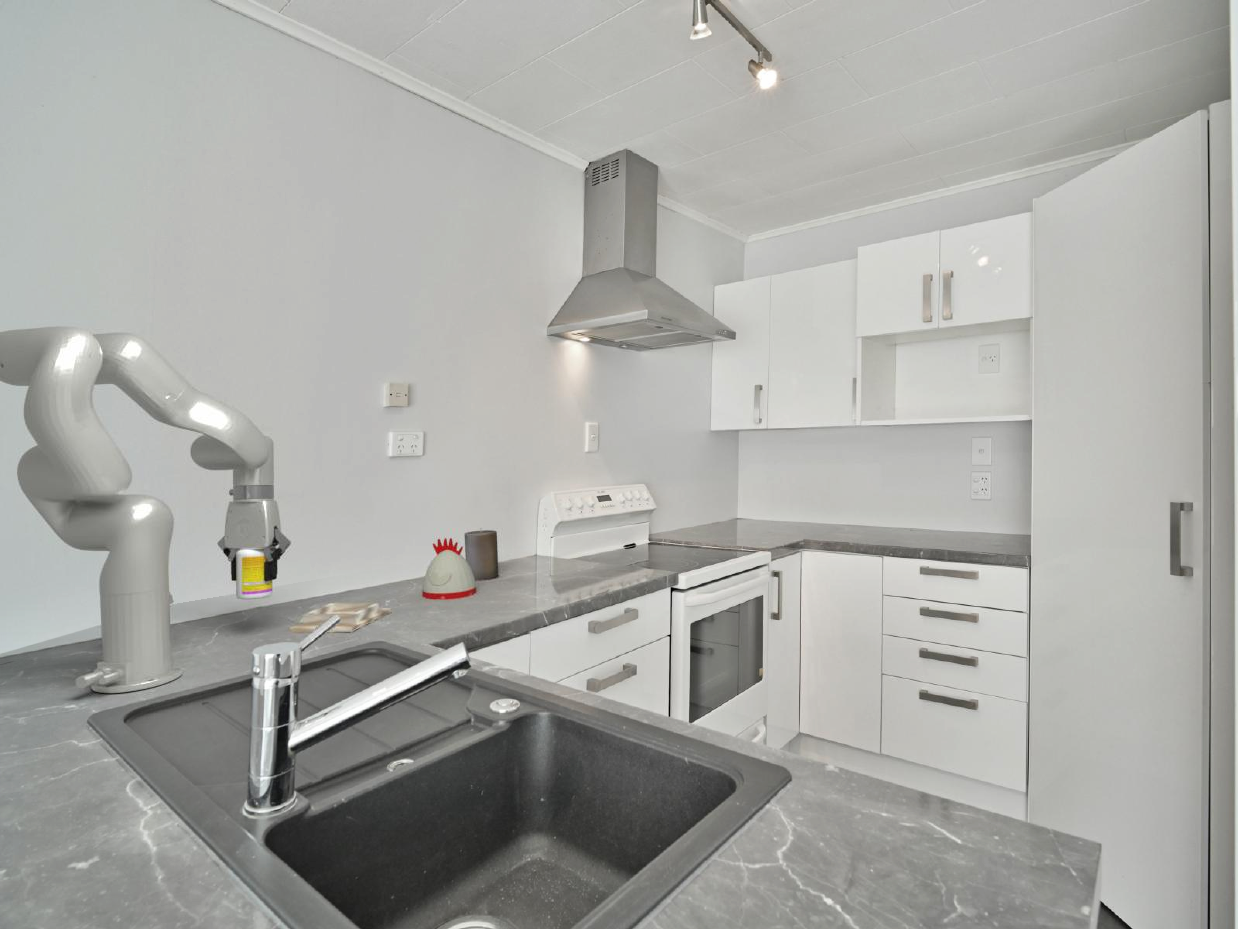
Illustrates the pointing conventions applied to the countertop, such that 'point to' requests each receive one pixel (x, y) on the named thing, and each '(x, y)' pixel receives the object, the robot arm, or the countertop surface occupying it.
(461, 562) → the kitchen timer
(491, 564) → the pillar candle
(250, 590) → the supplement bottle
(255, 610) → the countertop surface
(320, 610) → the beige flat rectangular tray
